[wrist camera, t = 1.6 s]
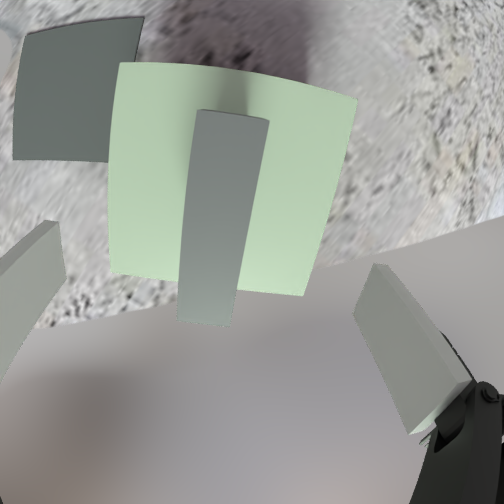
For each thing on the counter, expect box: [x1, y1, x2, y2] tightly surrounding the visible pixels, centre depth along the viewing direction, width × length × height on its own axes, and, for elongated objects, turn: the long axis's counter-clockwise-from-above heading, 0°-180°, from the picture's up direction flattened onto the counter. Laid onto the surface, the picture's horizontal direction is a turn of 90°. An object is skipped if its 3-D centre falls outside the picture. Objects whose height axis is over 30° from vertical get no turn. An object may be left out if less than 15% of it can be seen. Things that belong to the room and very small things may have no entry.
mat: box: [13, 18, 144, 163], centre depth 25 cm, size 18×18×1 cm
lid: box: [108, 62, 358, 327], centre depth 17 cm, size 17×17×9 cm
